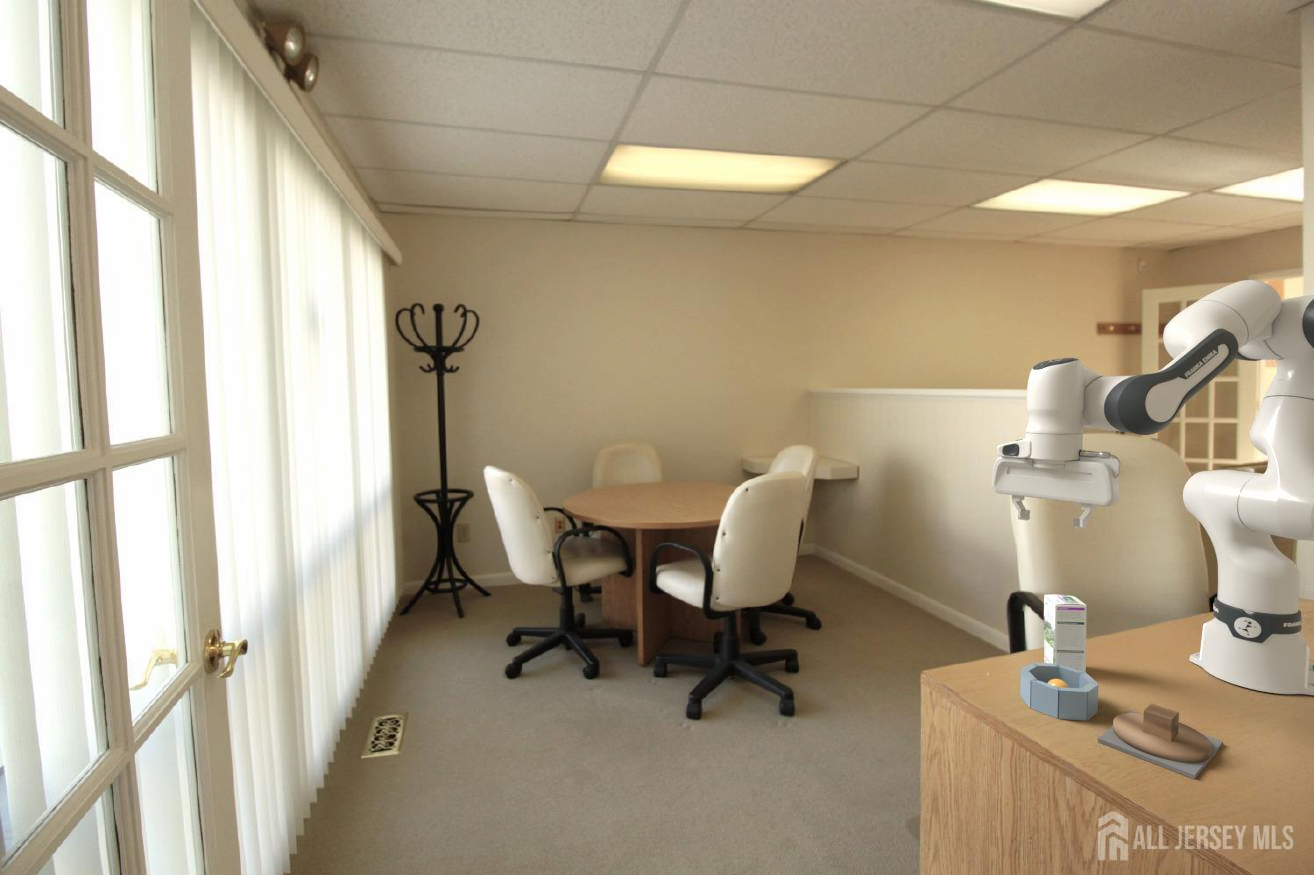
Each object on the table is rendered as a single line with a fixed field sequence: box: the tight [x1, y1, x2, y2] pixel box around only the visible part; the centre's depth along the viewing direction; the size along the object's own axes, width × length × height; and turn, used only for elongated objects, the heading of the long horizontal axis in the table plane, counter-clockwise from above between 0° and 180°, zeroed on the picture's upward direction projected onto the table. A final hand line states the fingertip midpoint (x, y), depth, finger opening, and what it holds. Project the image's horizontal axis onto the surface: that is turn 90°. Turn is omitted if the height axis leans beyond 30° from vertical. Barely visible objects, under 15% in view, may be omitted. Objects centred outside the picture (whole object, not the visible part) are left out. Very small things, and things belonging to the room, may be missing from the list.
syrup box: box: [1042, 593, 1088, 673], centre depth 124 cm, size 6×6×14 cm
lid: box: [1112, 703, 1211, 763], centre depth 98 cm, size 12×12×5 cm
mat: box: [1097, 710, 1224, 780], centre depth 99 cm, size 14×12×1 cm
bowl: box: [1019, 662, 1100, 721], centre depth 111 cm, size 11×11×5 cm
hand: (1051, 523), depth 115 cm, fingers open, 8 cm apart
